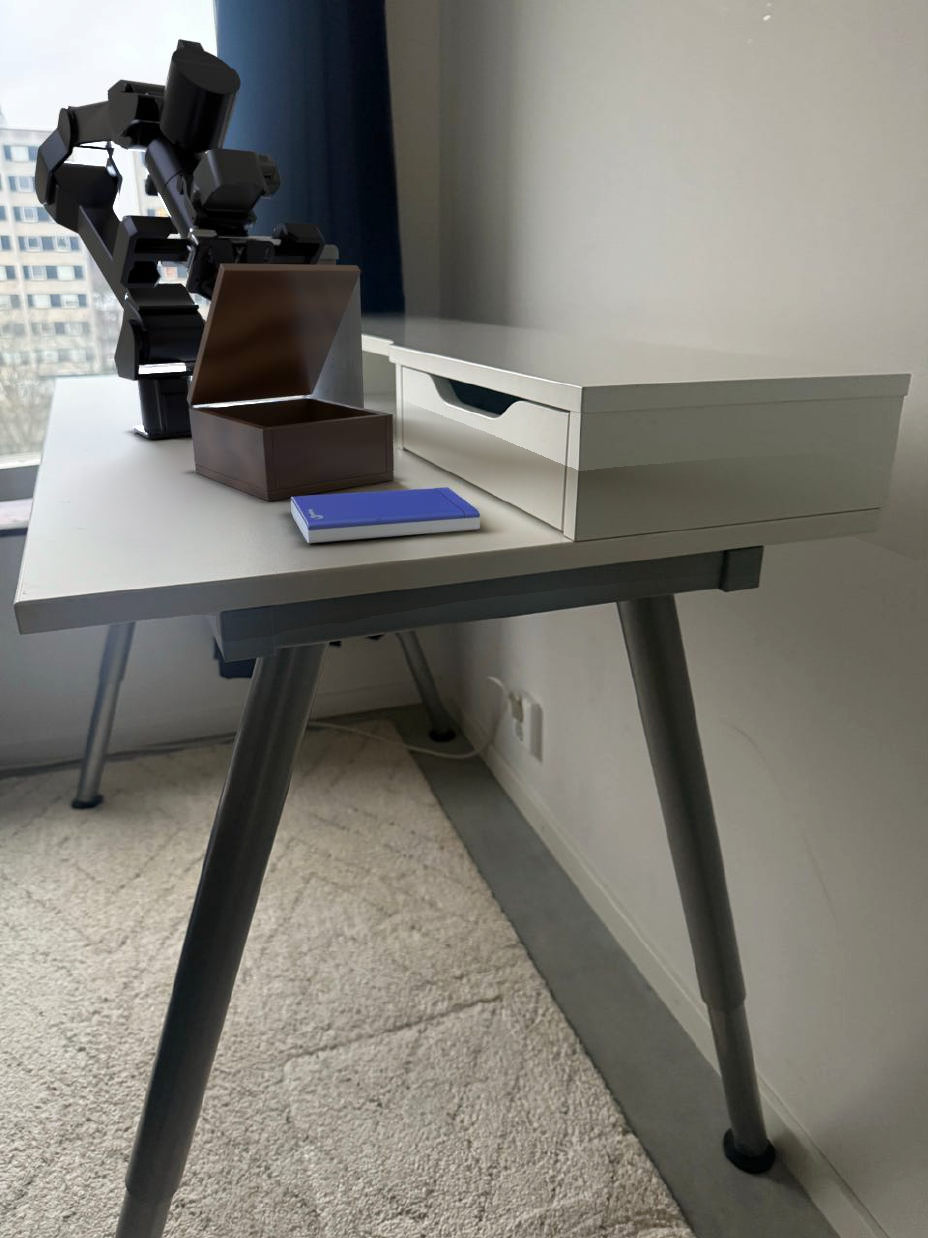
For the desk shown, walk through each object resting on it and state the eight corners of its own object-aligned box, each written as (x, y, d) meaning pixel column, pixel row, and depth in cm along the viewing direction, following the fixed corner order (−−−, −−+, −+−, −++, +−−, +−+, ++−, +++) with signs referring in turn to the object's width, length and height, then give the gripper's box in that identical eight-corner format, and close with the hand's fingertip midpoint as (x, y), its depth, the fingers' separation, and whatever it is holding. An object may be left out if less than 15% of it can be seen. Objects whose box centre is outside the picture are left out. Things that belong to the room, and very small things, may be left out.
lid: (361, 271, 73) (357, 264, 74) (224, 270, 66) (220, 262, 66) (312, 394, 84) (308, 388, 84) (189, 406, 76) (186, 399, 77)
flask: (300, 408, 115) (291, 245, 107) (344, 406, 117) (337, 246, 109) (320, 427, 102) (310, 242, 94) (368, 424, 103) (362, 243, 96)
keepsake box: (394, 479, 77) (393, 414, 75) (268, 501, 69) (262, 429, 67) (314, 455, 87) (311, 396, 84) (195, 472, 79) (188, 407, 77)
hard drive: (307, 523, 58) (480, 510, 62) (290, 494, 65) (446, 484, 69) (308, 545, 59) (479, 531, 62) (291, 514, 66) (446, 503, 69)
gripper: (104, 102, 68) (178, 253, 64) (309, 127, 79) (382, 257, 76) (85, 216, 76) (150, 355, 73) (273, 224, 88) (337, 345, 84)
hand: (260, 325), depth 76 cm, fingers closed
